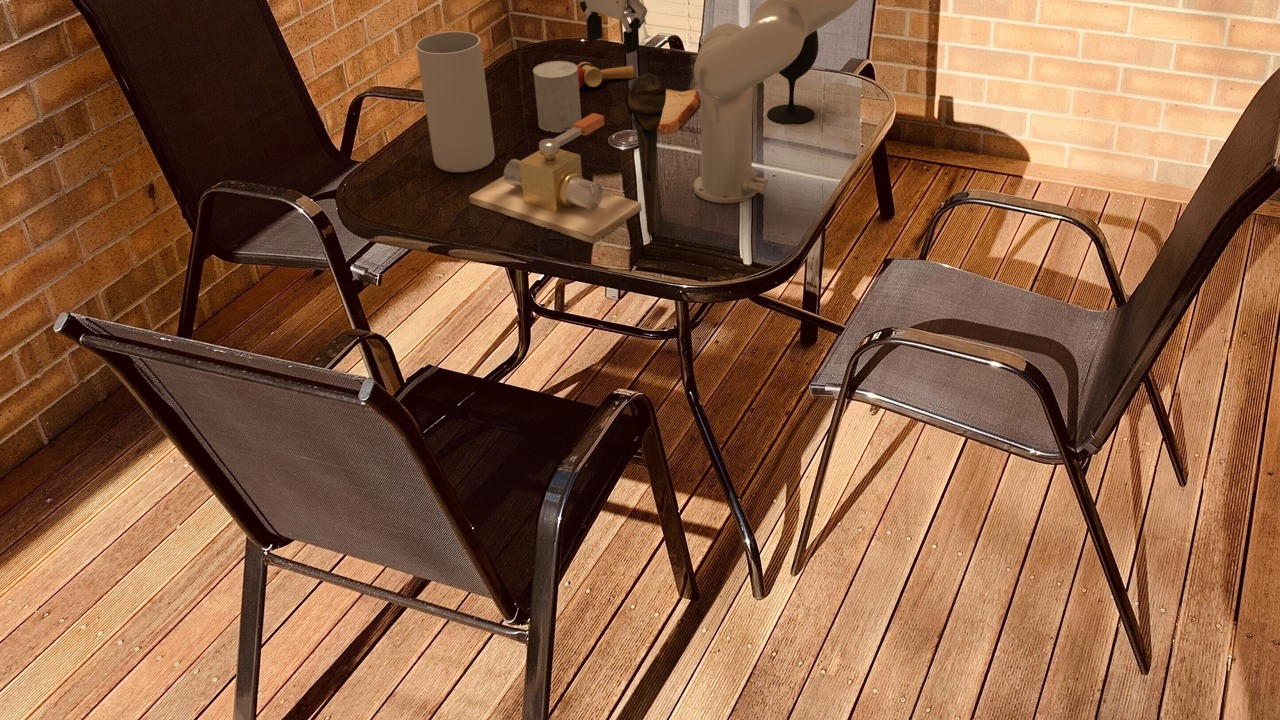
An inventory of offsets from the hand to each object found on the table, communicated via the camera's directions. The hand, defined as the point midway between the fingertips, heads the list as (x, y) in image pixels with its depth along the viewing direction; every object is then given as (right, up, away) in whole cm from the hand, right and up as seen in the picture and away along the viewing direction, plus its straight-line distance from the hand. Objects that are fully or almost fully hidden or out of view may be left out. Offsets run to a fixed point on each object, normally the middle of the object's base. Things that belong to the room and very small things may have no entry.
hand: (613, 45), depth 206 cm
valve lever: (-8, -15, +8) cm, 19 cm away
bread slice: (+12, -3, +44) cm, 46 cm away
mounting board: (-11, -28, +10) cm, 32 cm away
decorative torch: (+7, -35, 0) cm, 35 cm away
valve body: (-11, -27, +9) cm, 30 cm away
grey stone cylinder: (-13, -6, +42) cm, 44 cm away
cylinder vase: (-31, -16, +28) cm, 45 cm away
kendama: (-5, +7, +60) cm, 60 cm away
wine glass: (+38, -4, +40) cm, 55 cm away
